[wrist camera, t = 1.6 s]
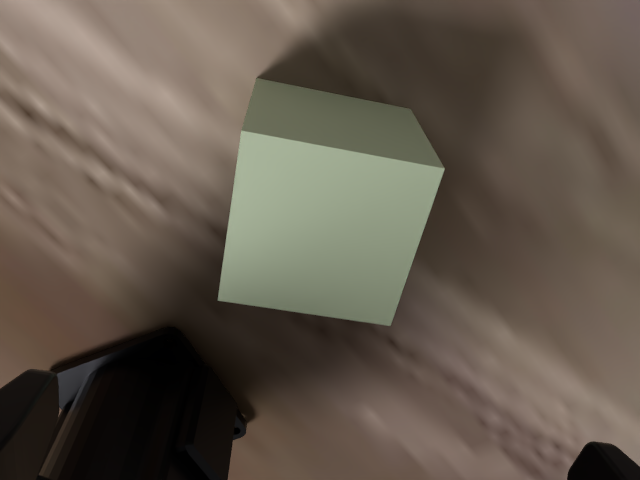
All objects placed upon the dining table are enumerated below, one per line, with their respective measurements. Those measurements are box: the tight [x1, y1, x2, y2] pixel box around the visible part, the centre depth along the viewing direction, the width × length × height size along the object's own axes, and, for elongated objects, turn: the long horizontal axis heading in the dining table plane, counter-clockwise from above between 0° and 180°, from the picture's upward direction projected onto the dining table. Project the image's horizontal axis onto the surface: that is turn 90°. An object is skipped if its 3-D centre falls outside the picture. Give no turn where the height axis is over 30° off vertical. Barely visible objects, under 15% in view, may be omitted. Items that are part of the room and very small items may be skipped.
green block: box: [218, 78, 445, 326], centre depth 16 cm, size 5×5×5 cm
